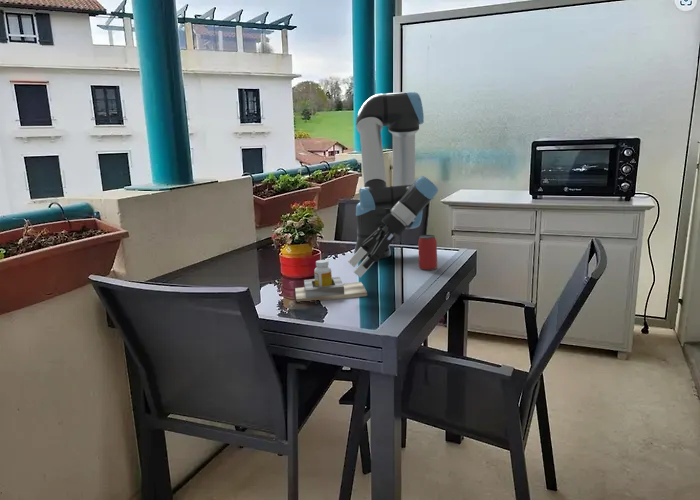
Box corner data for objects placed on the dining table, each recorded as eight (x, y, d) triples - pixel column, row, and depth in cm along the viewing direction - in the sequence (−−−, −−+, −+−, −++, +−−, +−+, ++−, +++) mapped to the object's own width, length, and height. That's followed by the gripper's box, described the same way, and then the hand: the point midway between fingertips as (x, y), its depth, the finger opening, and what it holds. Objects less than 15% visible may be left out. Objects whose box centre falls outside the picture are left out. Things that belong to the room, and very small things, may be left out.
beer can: (436, 270, 182) (436, 237, 180) (418, 270, 184) (417, 238, 181) (437, 265, 189) (436, 234, 186) (419, 266, 190) (418, 234, 188)
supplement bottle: (334, 288, 164) (333, 259, 162) (328, 293, 159) (326, 263, 157) (319, 287, 165) (317, 258, 163) (313, 292, 160) (310, 263, 158)
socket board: (295, 291, 167) (294, 280, 166) (361, 285, 170) (360, 274, 169) (296, 302, 155) (295, 291, 155) (367, 295, 158) (366, 284, 157)
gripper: (416, 233, 149) (368, 287, 151) (398, 220, 173) (357, 267, 175) (398, 217, 147) (350, 271, 149) (382, 206, 172) (340, 253, 173)
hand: (353, 269), depth 162 cm, fingers open, 13 cm apart
